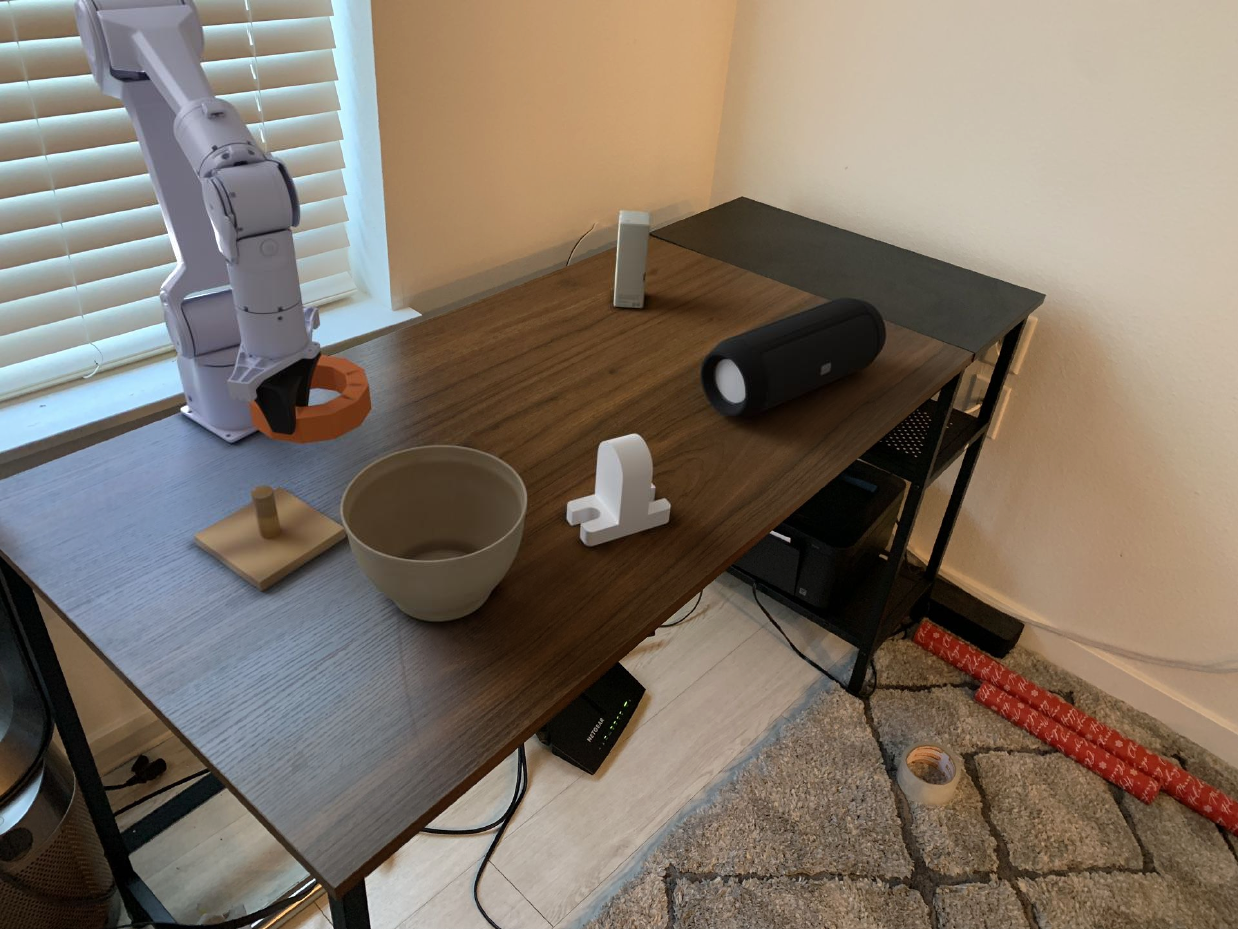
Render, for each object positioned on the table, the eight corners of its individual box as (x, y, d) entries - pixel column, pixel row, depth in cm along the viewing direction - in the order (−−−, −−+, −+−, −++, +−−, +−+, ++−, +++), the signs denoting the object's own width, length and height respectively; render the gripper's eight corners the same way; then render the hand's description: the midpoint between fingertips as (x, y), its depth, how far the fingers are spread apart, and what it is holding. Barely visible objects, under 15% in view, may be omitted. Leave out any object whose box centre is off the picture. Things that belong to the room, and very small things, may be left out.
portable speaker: (745, 438, 112) (759, 366, 106) (690, 400, 118) (700, 330, 112) (881, 378, 126) (899, 311, 120) (825, 346, 132) (840, 281, 126)
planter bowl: (446, 509, 98) (442, 423, 92) (560, 584, 90) (564, 497, 84) (316, 588, 88) (301, 498, 81) (433, 681, 80) (426, 590, 74)
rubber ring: (282, 372, 102) (278, 348, 100) (386, 387, 101) (383, 363, 99) (231, 433, 93) (225, 408, 91) (344, 450, 92) (340, 425, 90)
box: (643, 309, 136) (651, 225, 129) (612, 307, 136) (619, 223, 129) (643, 293, 141) (650, 210, 133) (613, 291, 140) (619, 208, 133)
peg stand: (195, 544, 91) (182, 495, 88) (280, 495, 98) (271, 447, 94) (261, 591, 87) (250, 541, 83) (346, 537, 94) (339, 488, 90)
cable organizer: (671, 521, 99) (681, 445, 93) (587, 547, 95) (592, 469, 89) (646, 492, 103) (654, 417, 97) (564, 516, 99) (568, 438, 93)
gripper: (274, 344, 78) (296, 474, 86) (342, 270, 89) (356, 390, 98) (193, 332, 79) (223, 462, 87) (272, 260, 90) (291, 381, 98)
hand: (289, 424), depth 92 cm, fingers closed on rubber ring, 2 cm apart
